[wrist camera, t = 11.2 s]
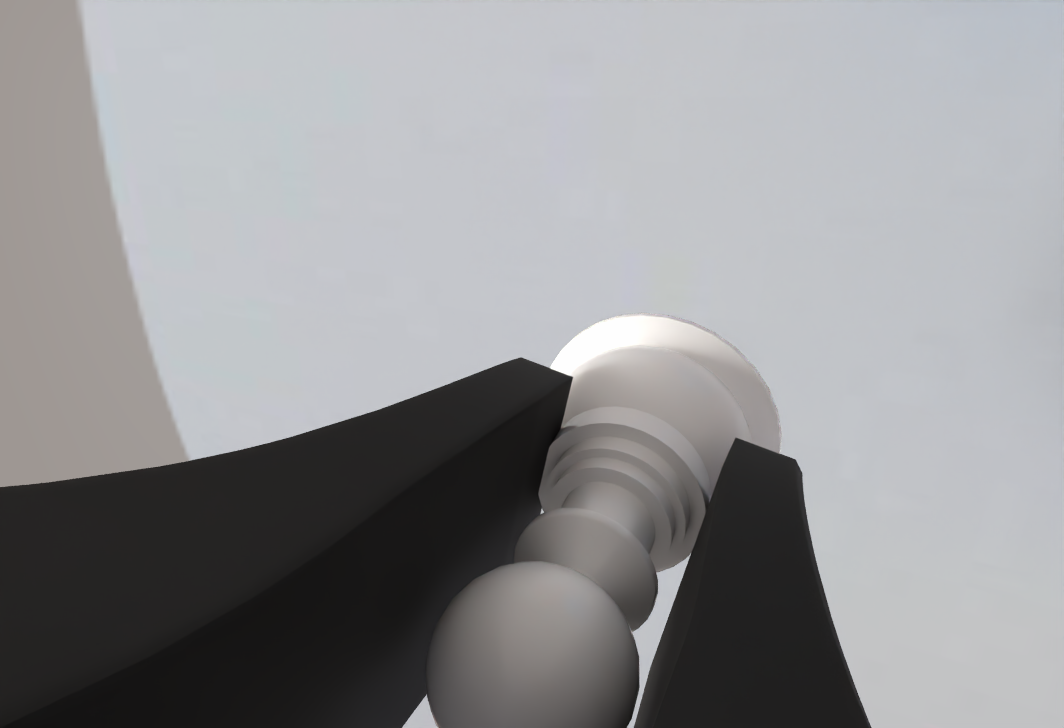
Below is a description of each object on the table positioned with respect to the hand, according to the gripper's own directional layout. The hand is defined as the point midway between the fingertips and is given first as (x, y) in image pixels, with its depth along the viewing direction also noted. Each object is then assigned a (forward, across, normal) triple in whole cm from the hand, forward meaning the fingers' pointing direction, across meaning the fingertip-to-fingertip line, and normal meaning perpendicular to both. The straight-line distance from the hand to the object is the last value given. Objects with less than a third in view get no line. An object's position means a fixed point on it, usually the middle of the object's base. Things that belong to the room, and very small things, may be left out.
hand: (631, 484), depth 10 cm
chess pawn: (+2, 0, 0) cm, 2 cm away
